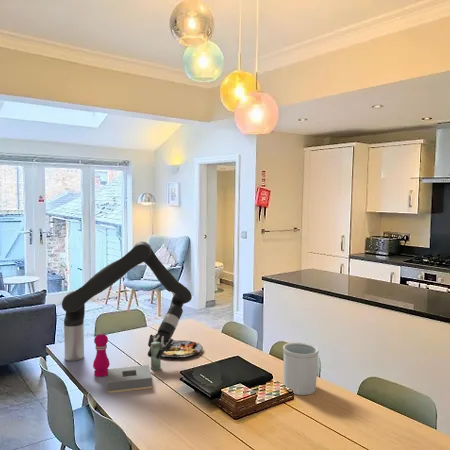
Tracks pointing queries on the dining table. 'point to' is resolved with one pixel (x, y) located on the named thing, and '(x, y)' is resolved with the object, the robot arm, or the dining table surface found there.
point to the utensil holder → (300, 367)
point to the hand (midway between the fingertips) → (153, 357)
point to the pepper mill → (101, 356)
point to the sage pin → (154, 351)
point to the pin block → (129, 378)
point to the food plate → (183, 349)
